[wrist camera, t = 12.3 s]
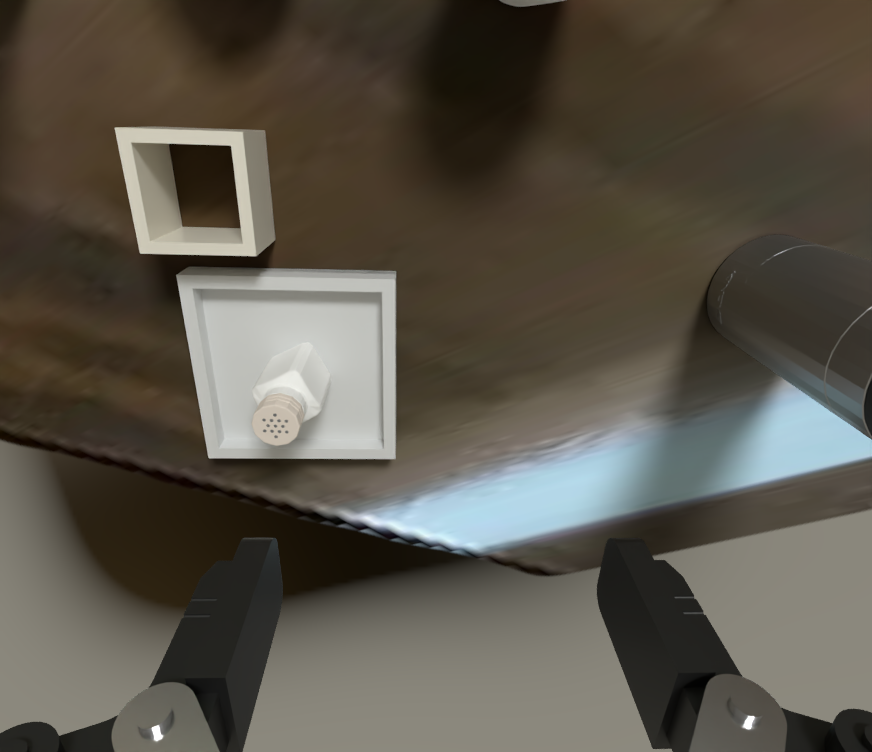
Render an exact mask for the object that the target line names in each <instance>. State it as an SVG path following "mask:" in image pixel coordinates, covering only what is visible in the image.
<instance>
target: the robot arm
mask: <svg viewBox="0 0 872 752" xmlns="http://www.w3.org/2000/svg"><path fill="white" fill-rule="evenodd" d="M707 312H708V316H709V319H710V322H711V323H712V325H713V326H714V328H715V329H716V331H717V332H719V333H720V334H721V335H722V336H723V337H724V338H726V339H727V340H729V341H730V342H732V343H733V344H735V345H736V346H737V347H739V348H740V349H742V350H743V351H745V352H746V353H747V354H749V355H750V356H751V357H753V358H754V359H756V360H757V361H759V362H760V363H762V364H763V365H764V366H766V367H767V368H769V369H770V370H772V371H773V372H775V373H776V374H777V375H779V376H780V377H782V378H783V379H785V380H786V381H788V382H789V383H790V384H792V385H793V386H795V387H796V388H798V389H799V390H801V391H802V392H803V393H805V394H806V395H808V396H809V397H811V398H812V399H814V400H815V401H816V402H818V403H819V404H821V405H822V406H824V407H825V408H827V409H828V410H829V411H831V412H832V413H834V414H835V415H837V416H838V417H840V418H841V419H843V420H844V421H846V422H847V423H849V424H850V425H852V426H853V427H854V428H856V429H857V430H859V431H860V432H862V433H863V434H864V435H866V436H867V437H869V438H870V439H872V261H870V260H867V259H864V258H861V257H857V256H854V255H851V254H847V253H844V252H841V251H838V250H834V249H831V248H828V247H825V246H822V245H819V244H815V243H812V242H809V241H805V240H802V239H798V238H795V237H791V236H788V235H770V236H765V237H761V238H758V239H755V240H753V241H750V242H748V243H747V244H745V245H743V246H742V247H740V248H738V249H737V250H736V251H735V252H734V253H732V254H731V255H730V256H729V257H728V258H727V259H726V260H725V261H724V263H723V264H722V265H721V266H720V267H719V269H718V271H717V272H716V274H715V276H714V277H713V279H712V282H711V285H710V288H709V290H708V297H707ZM282 591H283V586H282V577H281V569H280V561H279V552H278V544H277V540H276V539H275V538H243V539H242V540H241V542H240V544H239V547H238V549H237V551H236V554H235V556H234V559H233V561H217V562H216V563H215V565H213V566H212V567H211V568H210V569H209V571H207V572H206V573H205V574H204V575H203V576H202V577H201V579H200V581H199V583H198V585H197V587H196V590H195V592H194V594H193V596H192V600H191V602H189V604H188V607H187V609H186V611H185V613H184V618H182V620H181V622H180V624H179V626H178V628H177V630H176V632H175V635H174V637H173V639H172V641H171V643H170V646H169V647H168V650H167V652H166V654H165V656H164V658H163V660H162V663H161V665H160V667H159V669H158V671H157V673H156V675H155V678H154V680H153V682H152V683H151V685H150V687H149V688H148V689H146V690H144V691H142V692H141V693H139V694H138V695H137V696H135V697H134V698H133V699H131V700H130V701H129V702H128V703H127V704H126V706H125V707H124V708H123V709H122V710H121V712H120V713H119V715H118V716H115V717H114V718H112V719H109V720H107V721H104V722H101V723H99V724H96V725H92V726H89V727H86V728H83V729H80V730H76V731H73V732H70V733H67V734H64V735H61V736H59V735H58V734H57V732H56V730H55V729H54V728H53V727H52V726H51V725H49V724H47V723H43V722H30V723H24V724H21V725H17V726H15V727H12V728H10V729H8V730H6V731H4V732H2V733H0V752H242V751H243V748H244V744H245V740H246V736H247V733H248V729H249V725H250V722H251V718H252V714H253V711H254V707H255V703H256V699H257V696H258V692H259V688H260V685H261V681H262V677H263V674H264V670H265V666H266V663H267V659H268V655H269V651H270V648H271V644H272V640H273V636H274V633H275V629H276V625H277V622H278V618H279V615H280V610H281V604H282V594H283V593H282ZM597 597H598V604H599V609H600V612H601V614H602V617H603V619H604V622H605V625H606V627H607V630H608V632H609V635H610V638H611V640H612V643H613V646H614V648H615V651H616V654H617V656H618V659H619V662H620V664H621V667H622V669H623V672H624V674H625V677H626V680H627V682H628V685H629V688H630V690H631V693H632V696H633V698H634V701H635V703H636V706H637V709H638V711H639V714H640V716H641V719H642V721H643V724H644V727H645V729H646V732H647V735H648V737H649V740H650V743H651V745H652V748H653V749H668V748H669V749H672V751H673V752H872V713H871V712H868V711H864V710H860V709H847V710H843V711H842V712H840V713H839V714H838V715H837V716H836V718H835V720H834V722H833V723H830V722H826V721H823V720H818V719H815V718H812V717H809V716H805V715H802V714H798V713H794V712H791V711H788V710H786V709H783V708H781V707H780V706H779V704H778V703H777V702H776V701H775V699H774V698H773V697H772V696H771V695H770V694H769V693H768V692H767V691H766V690H765V689H763V688H762V687H761V686H759V685H758V684H756V683H754V682H753V681H751V680H749V679H746V678H744V677H742V675H741V674H740V672H739V671H738V669H737V667H736V666H735V664H734V662H733V660H732V659H731V657H730V655H729V654H728V652H727V650H726V649H725V647H724V645H723V644H722V642H721V640H720V638H719V637H718V635H717V633H716V632H715V630H714V628H713V627H712V625H711V623H710V622H709V620H708V618H707V617H706V615H704V614H703V610H702V608H701V606H700V605H699V603H698V601H697V600H696V599H694V595H693V593H692V591H691V589H690V588H689V586H688V584H687V583H686V581H685V579H684V578H683V576H682V575H681V574H679V573H678V572H677V571H676V570H675V569H674V568H673V567H672V566H671V565H669V564H668V563H667V562H666V561H665V560H654V559H653V557H652V555H651V553H650V551H649V550H648V548H647V546H646V544H645V543H644V541H643V540H642V539H640V538H609V539H608V540H607V543H606V546H605V551H604V555H603V560H602V565H601V570H600V574H599V579H598V584H597Z"/></svg>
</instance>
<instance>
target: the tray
mask: <svg viewBox="0 0 872 752" xmlns="http://www.w3.org/2000/svg"><path fill="white" fill-rule="evenodd" d="M176 277H177V282H178V288H179V294H180V299H181V305H182V311H183V316H184V322H185V328H186V333H187V339H188V345H189V350H190V356H191V361H192V367H193V373H194V378H195V384H196V390H197V395H198V401H199V407H200V412H201V418H202V424H203V429H204V435H205V441H206V446H207V452H208V458H265V459H395V458H396V271H373V270H327V269H281V268H235V267H187V268H186V269H184V270H183V271H181V272H180V273H178V274H177V275H176ZM306 342H309V343H310V344H311V345H313V347H314V348H315V350H316V352H317V353H318V355H319V356H320V358H321V360H322V361H323V363H324V365H325V366H326V368H327V369H328V371H329V373H330V374H331V382H330V385H329V388H328V392H327V395H326V398H325V401H324V404H323V407H322V410H321V411H320V412H319V414H318V415H317V416H315V417H313V418H311V419H309V420H307V421H305V422H303V423H302V425H301V428H300V430H299V433H298V436H297V437H296V438H295V439H294V440H293V441H291V442H290V443H289V444H285V445H279V446H275V445H271V444H268V443H264V442H263V441H262V440H261V439H260V438H258V437H257V436H256V435H255V433H254V430H253V427H252V425H251V423H252V419H253V415H254V413H255V411H256V409H257V407H258V405H257V403H256V402H255V400H254V398H253V394H252V389H253V387H254V386H255V384H256V382H257V381H258V379H259V377H260V375H261V374H262V372H263V370H264V369H265V367H266V365H267V364H268V362H269V361H270V359H271V358H272V357H274V356H276V355H278V354H280V353H282V352H284V351H286V350H288V349H291V348H293V347H295V346H297V345H299V344H301V343H306Z"/></svg>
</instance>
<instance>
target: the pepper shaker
mask: <svg viewBox="0 0 872 752" xmlns="http://www.w3.org/2000/svg"><path fill="white" fill-rule="evenodd" d="M330 382H331V374H330V373H329V371H328V369H327V368H326V366H325V365H324V363H323V361H322V360H321V358H320V356H319V355H318V353H317V352H316V350H315V348H314V347H313V345H311V344H310V343H309V342H306V343H301V344H299V345H297V346H295V347H293V348H291V349H288V350H286V351H284V352H282V353H280V354H278V355H276V356H274V357H272V358H271V359H270V361H269V362H268V364H267V365H266V367H265V369H264V370H263V372H262V374H261V375H260V377H259V379H258V381H257V382H256V384H255V386H254V387H253V389H252V394H253V398H254V400H255V402H256V403H257V405H258V407H257V409H256V411H255V413H254V415H253V419H252V423H251V425H252V427H253V430H254V433H255V435H256V436H257V437H258V438H260V439H261V440H262V441H263V442H264V443H268V444H271V445H275V446H279V445H285V444H289V443H290V442H291V441H293V440H294V439H295V438H296V437H297V436H298V433H299V430H300V428H301V425H302V423H303V422H305V421H307V420H309V419H311V418H313V417H315V416H317V415H318V414H319V412H320V411H321V410H322V407H323V404H324V401H325V398H326V395H327V392H328V388H329V385H330Z"/></svg>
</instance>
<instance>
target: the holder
mask: <svg viewBox="0 0 872 752" xmlns="http://www.w3.org/2000/svg"><path fill="white" fill-rule="evenodd" d="M115 132H116V137H117V142H118V147H119V152H120V157H121V162H122V167H123V172H124V177H125V182H126V186H127V191H128V196H129V201H130V206H131V211H132V216H133V221H134V226H135V231H136V236H137V241H138V246H139V251H140V254H178V255H222V256H257V255H258V254H260V253H261V252H262V251H263V250H264V249H265V248H267V247H268V246H269V245H270V244H271V243H272V242H273V241H275V231H274V220H273V210H272V199H271V188H270V178H269V167H268V157H267V146H266V135H265V130H239V129H210V128H180V127H115ZM169 144H196V145H227V146H231V150H232V158H233V166H234V175H235V183H236V191H237V200H238V208H239V216H240V224H241V228H207V227H182V221H181V215H180V209H179V203H178V197H177V191H176V185H175V179H174V173H173V167H172V161H171V155H170V149H169Z"/></svg>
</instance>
